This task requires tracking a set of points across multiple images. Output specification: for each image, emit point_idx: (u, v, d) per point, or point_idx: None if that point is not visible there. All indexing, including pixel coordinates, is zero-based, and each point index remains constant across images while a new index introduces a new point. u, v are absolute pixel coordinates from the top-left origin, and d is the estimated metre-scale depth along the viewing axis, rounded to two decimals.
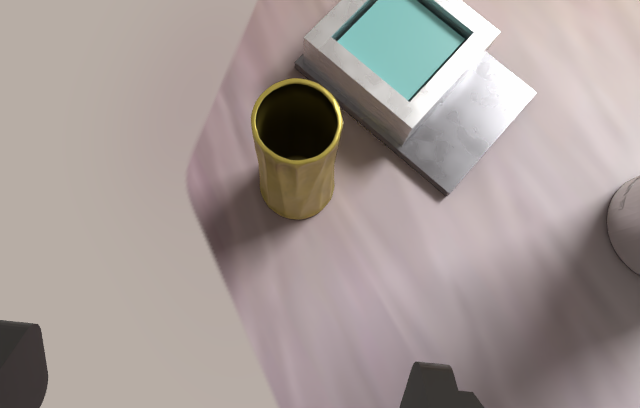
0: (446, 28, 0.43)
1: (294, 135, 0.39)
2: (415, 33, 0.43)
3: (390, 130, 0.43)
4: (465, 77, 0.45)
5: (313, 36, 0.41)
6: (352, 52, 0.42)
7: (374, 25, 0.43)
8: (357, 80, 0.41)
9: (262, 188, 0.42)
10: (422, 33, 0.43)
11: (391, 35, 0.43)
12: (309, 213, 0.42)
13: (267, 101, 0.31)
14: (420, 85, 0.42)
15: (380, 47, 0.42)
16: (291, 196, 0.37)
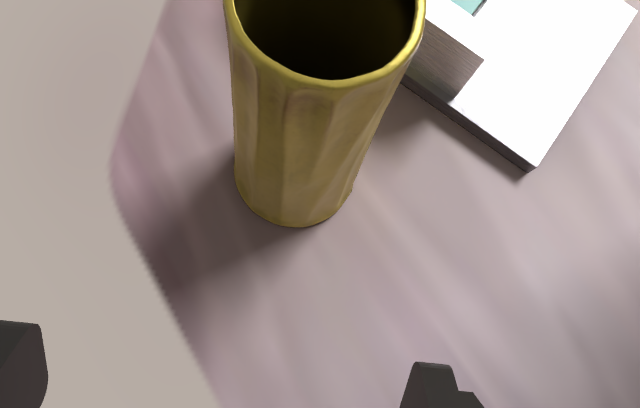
0: None
1: None
2: None
3: (437, 74, 0.27)
4: None
5: None
6: None
7: None
8: None
9: (239, 180, 0.25)
10: None
11: None
12: (321, 215, 0.26)
13: None
14: None
15: None
16: (300, 182, 0.20)
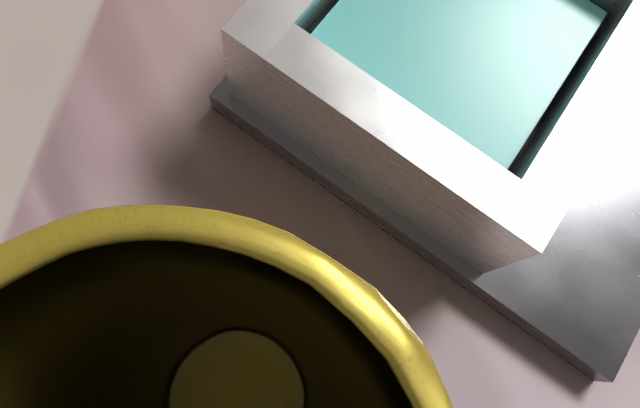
0: None
1: (212, 318, 0.13)
2: (494, 6, 0.18)
3: (457, 243, 0.18)
4: None
5: (246, 25, 0.15)
6: (350, 61, 0.17)
7: None
8: (376, 133, 0.15)
9: None
10: (510, 5, 0.18)
11: (438, 14, 0.17)
12: None
13: None
14: (528, 131, 0.17)
15: (417, 44, 0.17)
16: None
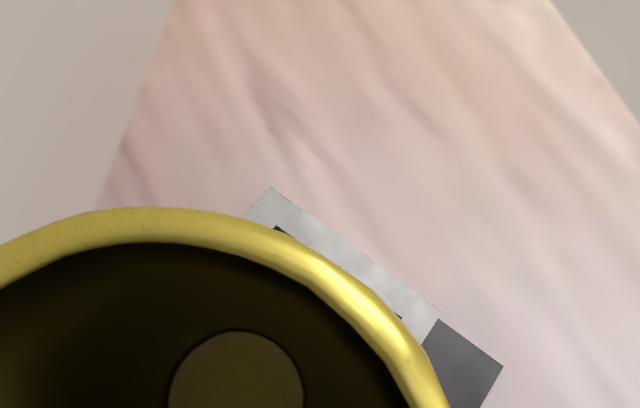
0: None
1: (211, 319, 0.13)
2: None
3: None
4: None
5: None
6: None
7: None
8: None
9: None
10: None
11: None
12: None
13: None
14: None
15: None
16: None
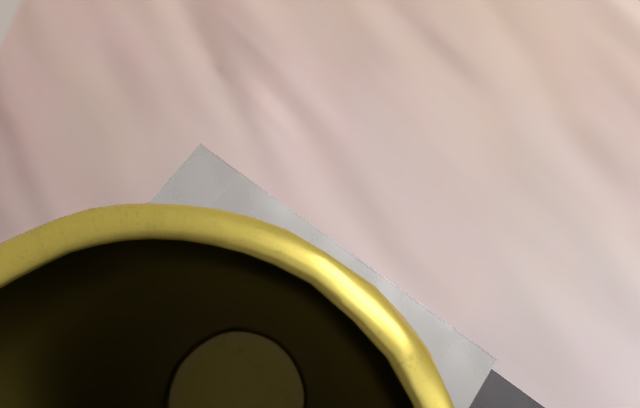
0: None
1: (212, 319, 0.13)
2: None
3: None
4: None
5: None
6: None
7: None
8: None
9: None
10: None
11: None
12: None
13: None
14: None
15: None
16: None
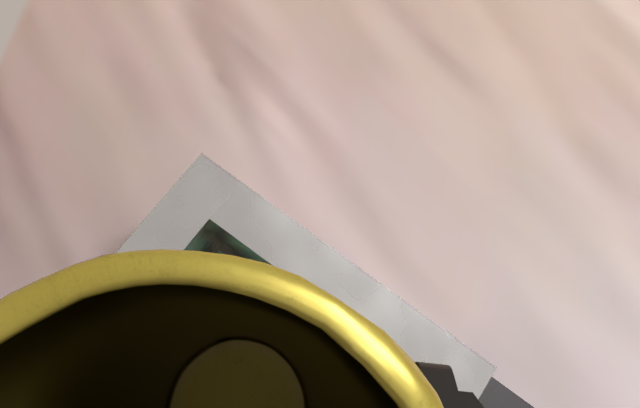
0: None
1: (214, 332, 0.13)
2: None
3: None
4: None
5: None
6: None
7: None
8: None
9: None
10: None
11: None
12: None
13: None
14: None
15: None
16: None
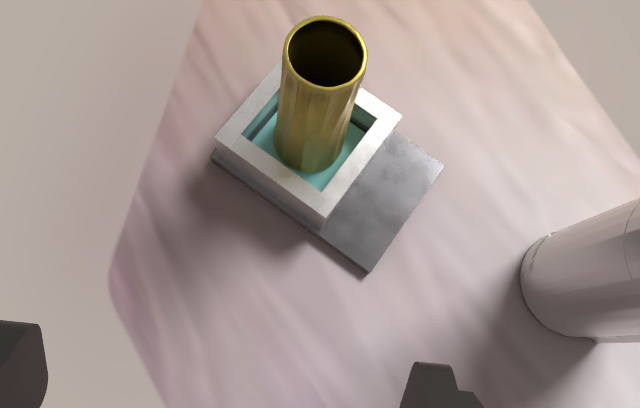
0: (348, 124, 0.47)
1: None
2: None
3: (307, 216, 0.44)
4: (376, 156, 0.47)
5: (223, 135, 0.42)
6: None
7: None
8: (269, 175, 0.42)
9: (277, 144, 0.45)
10: None
11: None
12: (324, 164, 0.45)
13: (294, 40, 0.34)
14: (328, 180, 0.45)
15: None
16: (313, 139, 0.39)
